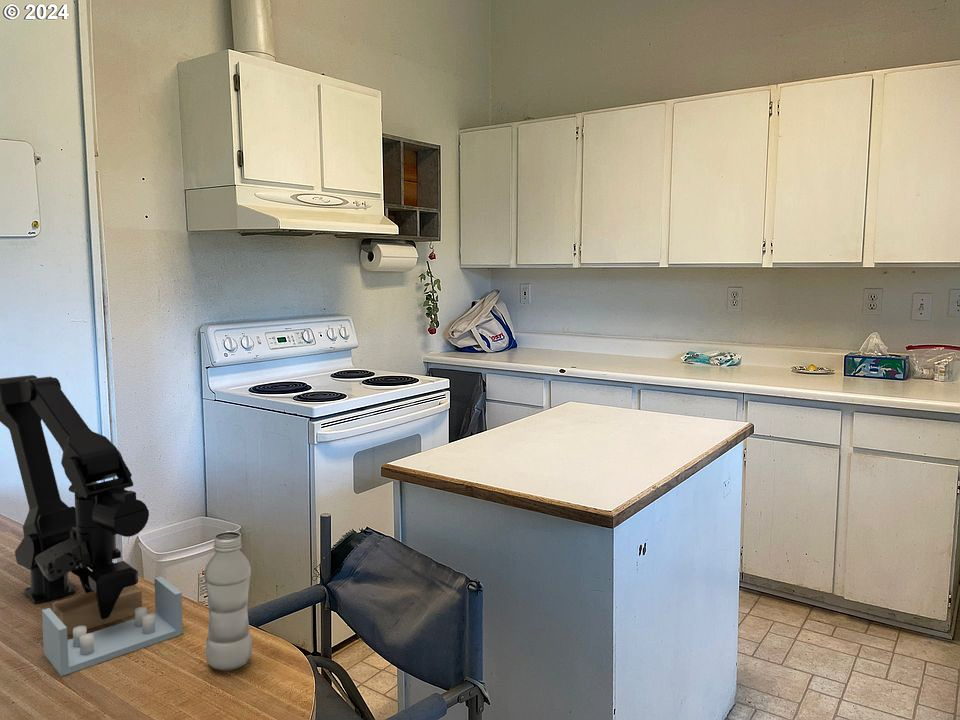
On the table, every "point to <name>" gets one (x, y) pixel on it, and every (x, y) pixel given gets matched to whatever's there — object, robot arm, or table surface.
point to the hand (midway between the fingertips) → (99, 612)
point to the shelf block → (96, 609)
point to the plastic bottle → (228, 604)
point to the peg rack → (113, 633)
